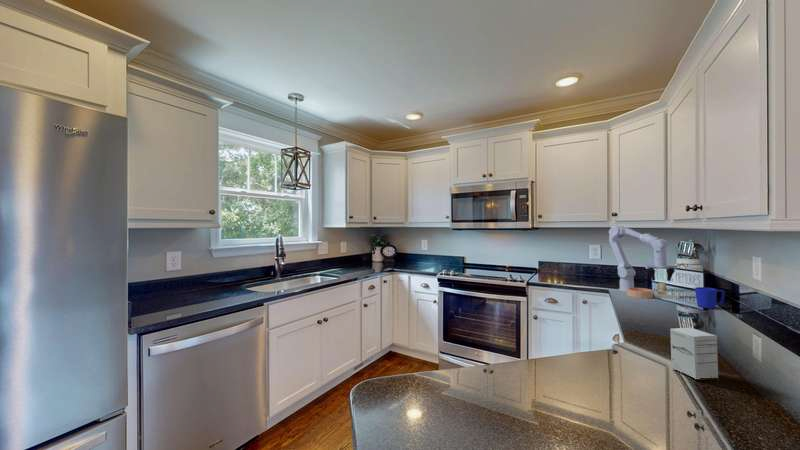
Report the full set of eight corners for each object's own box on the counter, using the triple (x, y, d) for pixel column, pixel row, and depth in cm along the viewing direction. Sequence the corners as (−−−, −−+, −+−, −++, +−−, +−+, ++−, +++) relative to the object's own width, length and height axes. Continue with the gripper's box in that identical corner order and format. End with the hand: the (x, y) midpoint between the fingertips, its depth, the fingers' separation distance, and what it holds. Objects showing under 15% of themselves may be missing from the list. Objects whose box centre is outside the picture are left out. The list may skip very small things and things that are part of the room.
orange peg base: (624, 294, 196) (624, 287, 196) (648, 295, 191) (648, 288, 191) (631, 298, 184) (630, 291, 184) (657, 299, 179) (656, 292, 180)
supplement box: (670, 369, 93) (668, 328, 93) (692, 368, 93) (690, 326, 94) (695, 381, 85) (694, 336, 86) (719, 380, 86) (717, 334, 86)
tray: (646, 294, 195) (646, 290, 195) (670, 295, 190) (670, 291, 190) (654, 298, 183) (654, 294, 183) (679, 299, 179) (679, 295, 179)
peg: (657, 295, 189) (656, 282, 189) (665, 295, 188) (664, 282, 188) (659, 296, 186) (658, 283, 186) (667, 296, 184) (667, 283, 184)
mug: (731, 310, 155) (730, 290, 155) (703, 309, 157) (702, 290, 157) (718, 306, 163) (717, 287, 163) (691, 305, 165) (690, 287, 165)
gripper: (648, 259, 186) (649, 281, 186) (678, 259, 181) (679, 282, 181) (643, 257, 193) (644, 279, 193) (672, 258, 188) (673, 280, 187)
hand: (661, 280), depth 187 cm, fingers open, 7 cm apart
